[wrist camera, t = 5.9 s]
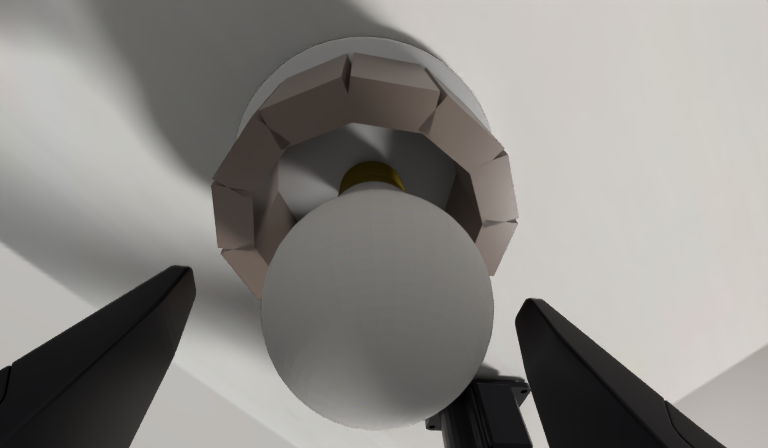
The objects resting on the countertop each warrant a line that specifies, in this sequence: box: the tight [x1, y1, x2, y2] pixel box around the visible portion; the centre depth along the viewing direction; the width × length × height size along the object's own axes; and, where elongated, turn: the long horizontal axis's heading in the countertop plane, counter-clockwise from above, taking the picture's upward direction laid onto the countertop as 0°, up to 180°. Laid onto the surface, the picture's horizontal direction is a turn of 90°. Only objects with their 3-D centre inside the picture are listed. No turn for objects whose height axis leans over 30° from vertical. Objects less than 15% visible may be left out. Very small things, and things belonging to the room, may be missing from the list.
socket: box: [211, 36, 519, 299], centre depth 14 cm, size 11×11×5 cm
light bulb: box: [261, 161, 494, 430], centre depth 11 cm, size 6×6×10 cm
